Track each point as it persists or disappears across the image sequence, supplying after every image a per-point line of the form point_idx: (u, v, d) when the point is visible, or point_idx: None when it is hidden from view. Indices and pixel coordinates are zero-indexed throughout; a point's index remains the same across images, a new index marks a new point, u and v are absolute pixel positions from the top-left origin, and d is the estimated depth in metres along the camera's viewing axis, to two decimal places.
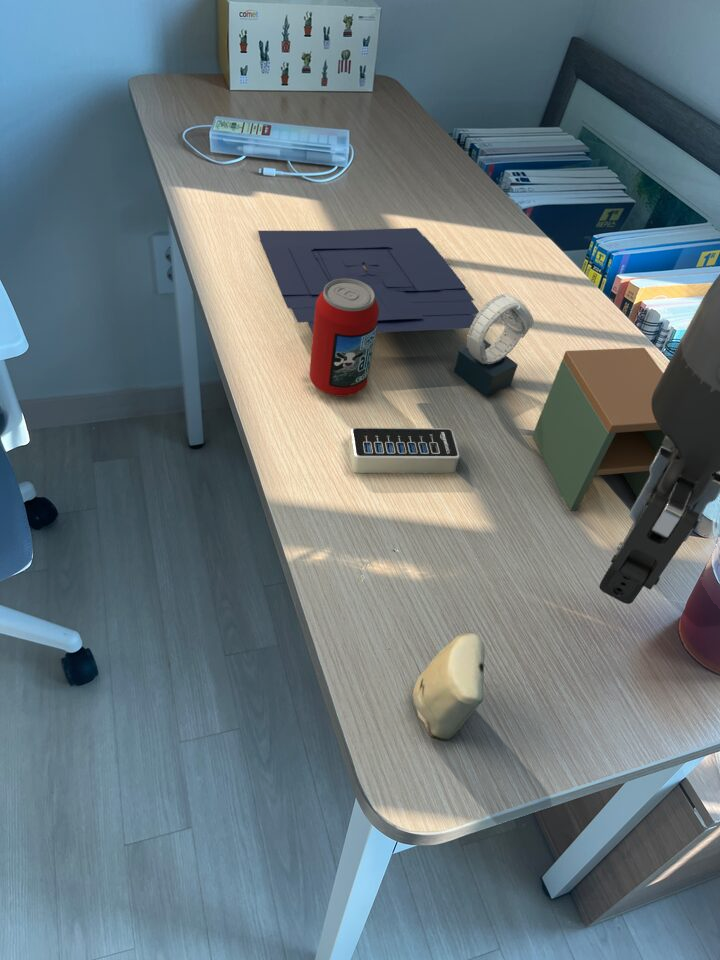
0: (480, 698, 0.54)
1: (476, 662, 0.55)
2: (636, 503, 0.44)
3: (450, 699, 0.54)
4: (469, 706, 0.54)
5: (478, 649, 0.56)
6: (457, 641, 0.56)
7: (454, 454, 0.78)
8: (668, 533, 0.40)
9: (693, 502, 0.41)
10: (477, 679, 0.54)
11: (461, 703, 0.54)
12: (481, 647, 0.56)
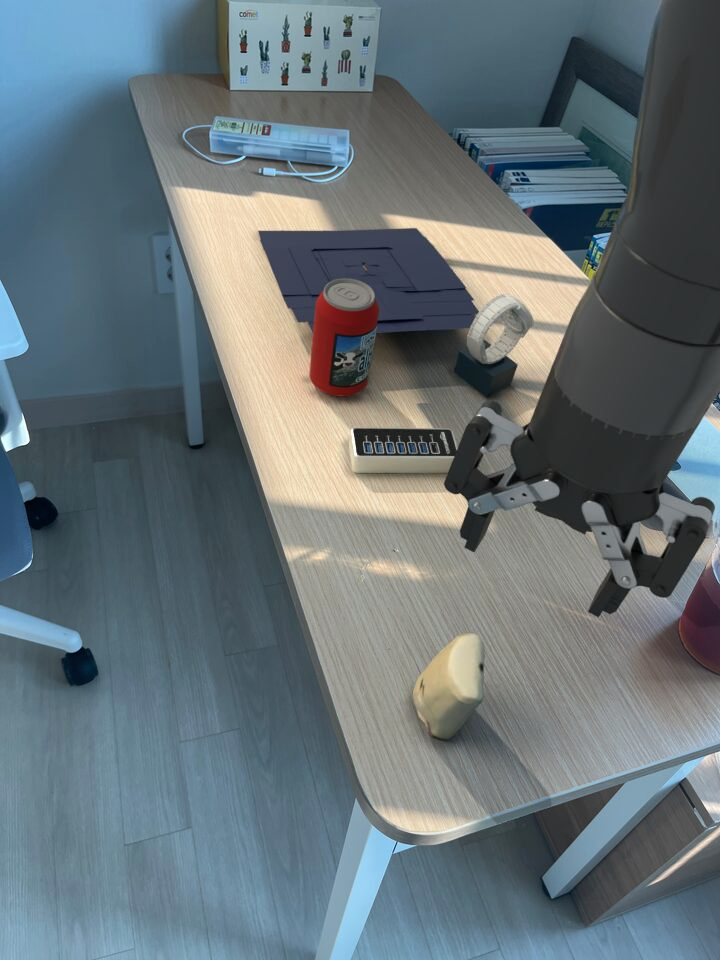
0: (480, 698, 0.54)
1: (476, 662, 0.55)
2: None
3: (450, 699, 0.54)
4: (469, 706, 0.54)
5: (478, 649, 0.56)
6: (457, 641, 0.56)
7: (454, 454, 0.78)
8: None
9: (511, 452, 0.42)
10: (477, 679, 0.54)
11: (461, 703, 0.54)
12: (481, 647, 0.56)
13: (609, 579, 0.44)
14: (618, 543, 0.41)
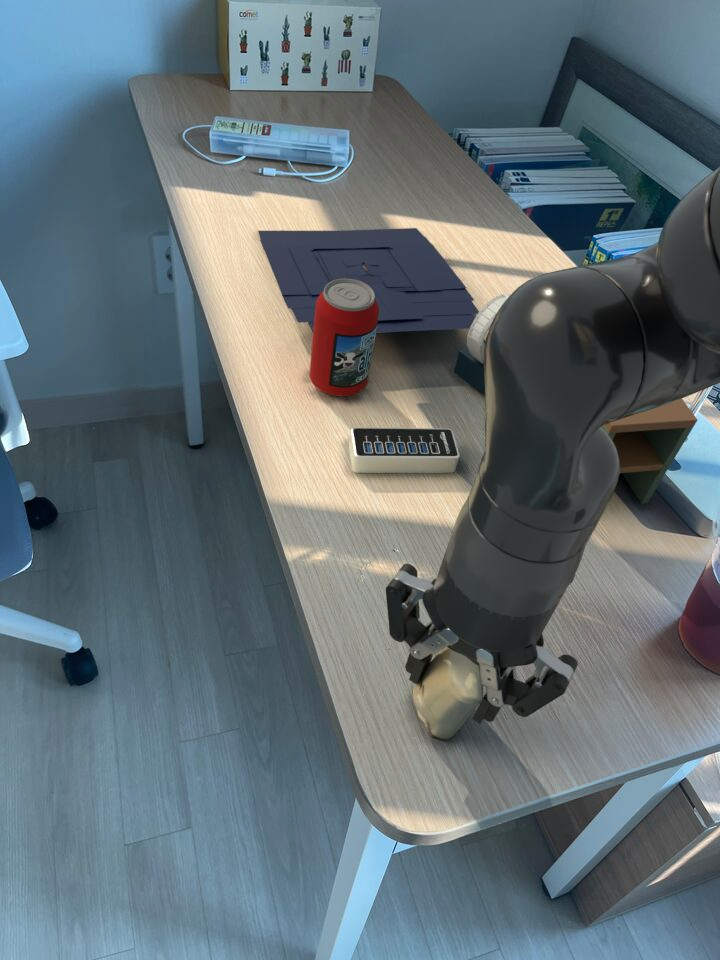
0: (480, 698, 0.54)
1: None
2: None
3: (450, 699, 0.54)
4: (469, 706, 0.54)
5: None
6: None
7: (454, 454, 0.78)
8: None
9: (423, 601, 0.51)
10: (477, 679, 0.54)
11: (461, 703, 0.54)
12: None
13: (484, 697, 0.54)
14: (497, 680, 0.51)
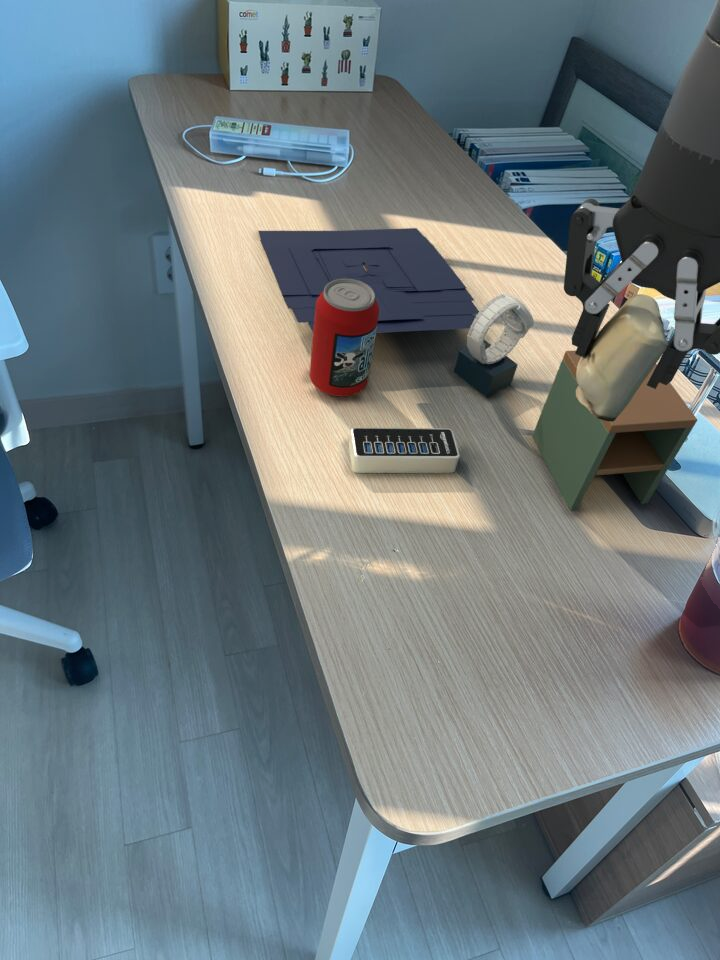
0: (666, 342, 0.51)
1: (655, 314, 0.52)
2: None
3: (632, 349, 0.51)
4: (653, 353, 0.51)
5: (655, 306, 0.53)
6: (631, 300, 0.53)
7: (454, 454, 0.78)
8: None
9: (613, 225, 0.49)
10: (660, 327, 0.52)
11: (645, 349, 0.51)
12: (657, 305, 0.53)
13: (668, 345, 0.51)
14: (695, 303, 0.48)
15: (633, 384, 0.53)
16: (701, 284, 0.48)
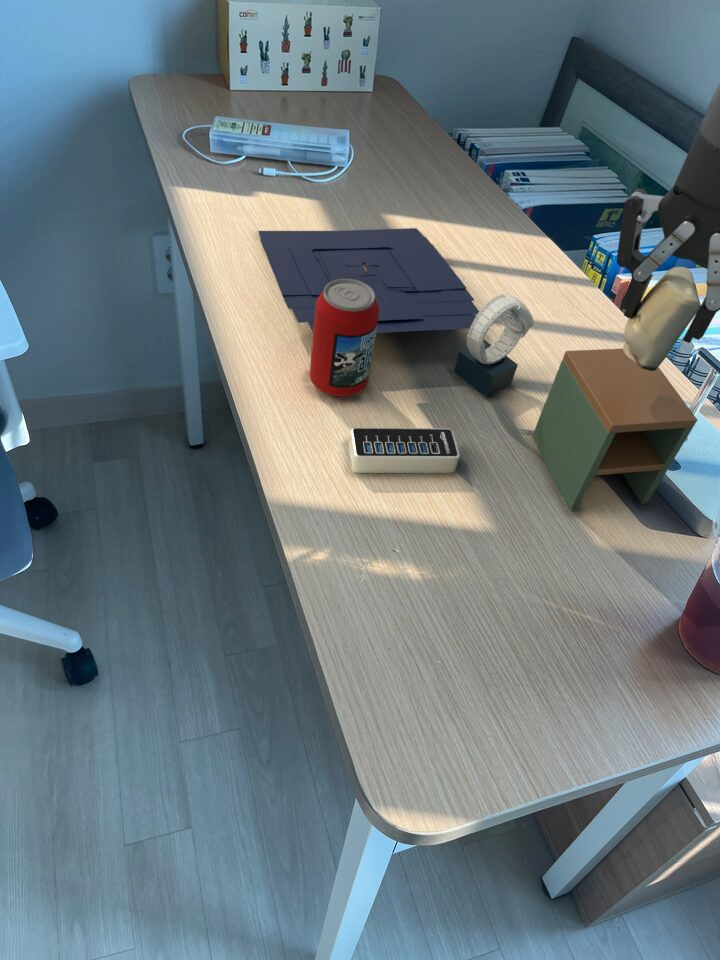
0: (699, 303, 0.64)
1: (690, 282, 0.65)
2: None
3: (671, 308, 0.64)
4: (689, 312, 0.64)
5: (690, 275, 0.66)
6: (671, 270, 0.66)
7: (454, 454, 0.78)
8: None
9: (659, 209, 0.62)
10: (694, 291, 0.64)
11: (683, 308, 0.64)
12: (692, 275, 0.66)
13: (700, 306, 0.64)
14: None
15: (672, 338, 0.66)
16: None
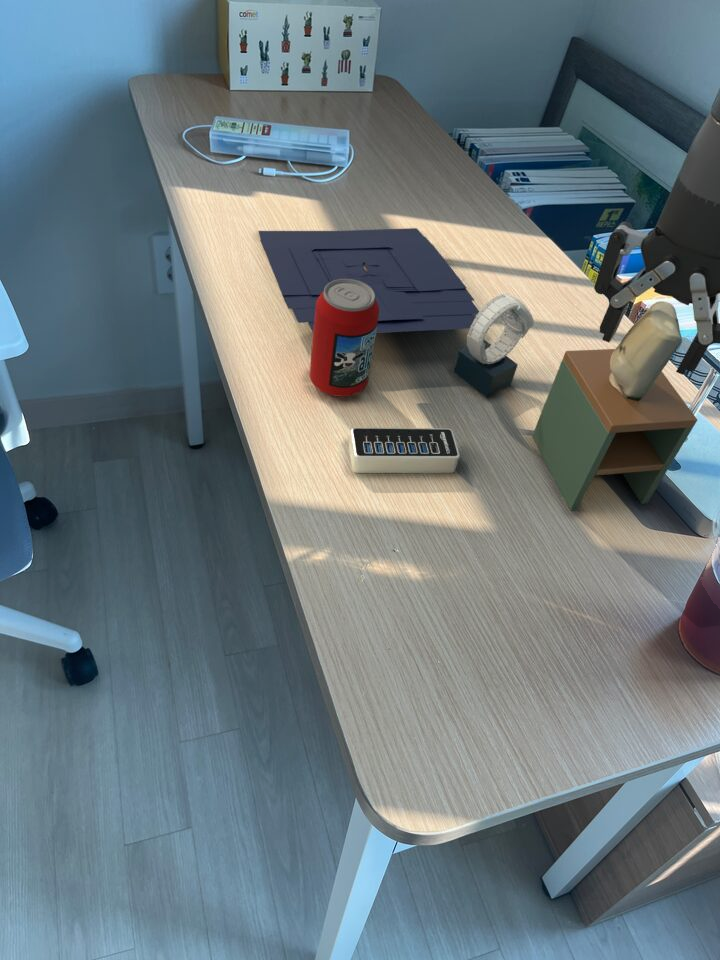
0: (681, 338, 0.66)
1: (673, 317, 0.68)
2: None
3: (654, 343, 0.67)
4: (671, 346, 0.67)
5: (673, 310, 0.69)
6: (655, 305, 0.69)
7: (454, 454, 0.78)
8: None
9: (641, 248, 0.64)
10: (676, 327, 0.67)
11: (665, 343, 0.66)
12: (674, 310, 0.69)
13: (693, 340, 0.66)
14: (708, 306, 0.63)
15: (655, 371, 0.69)
16: (707, 293, 0.63)
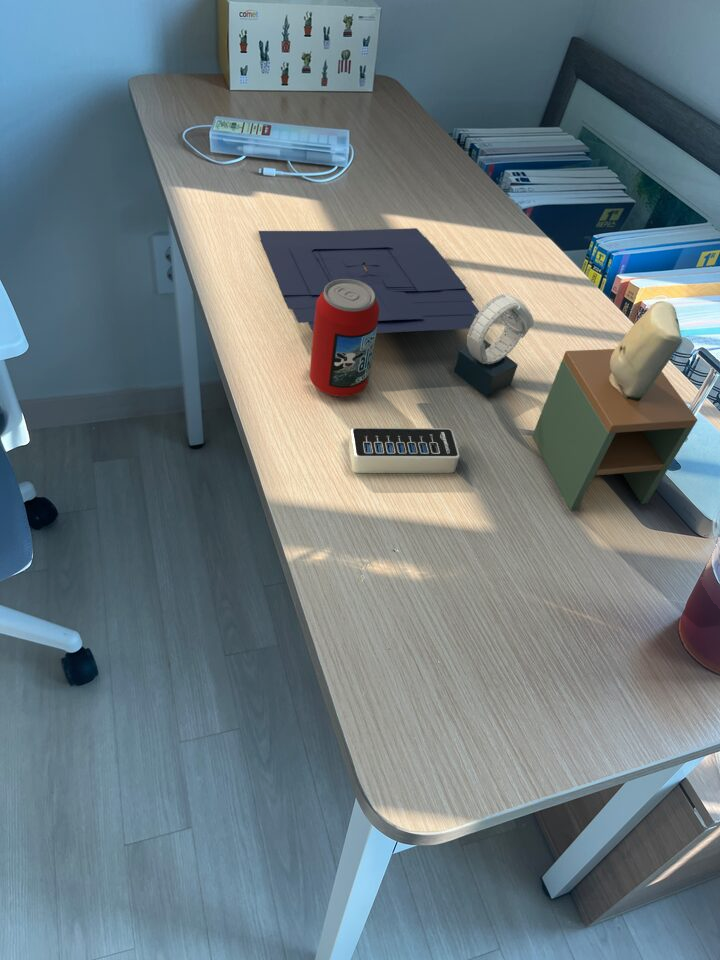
0: (681, 338, 0.66)
1: (673, 317, 0.68)
2: None
3: (654, 343, 0.67)
4: (671, 346, 0.67)
5: (673, 310, 0.69)
6: (655, 305, 0.69)
7: (454, 454, 0.78)
8: None
9: None
10: (676, 327, 0.67)
11: (665, 343, 0.66)
12: (674, 310, 0.69)
13: None
14: None
15: (655, 371, 0.69)
16: None
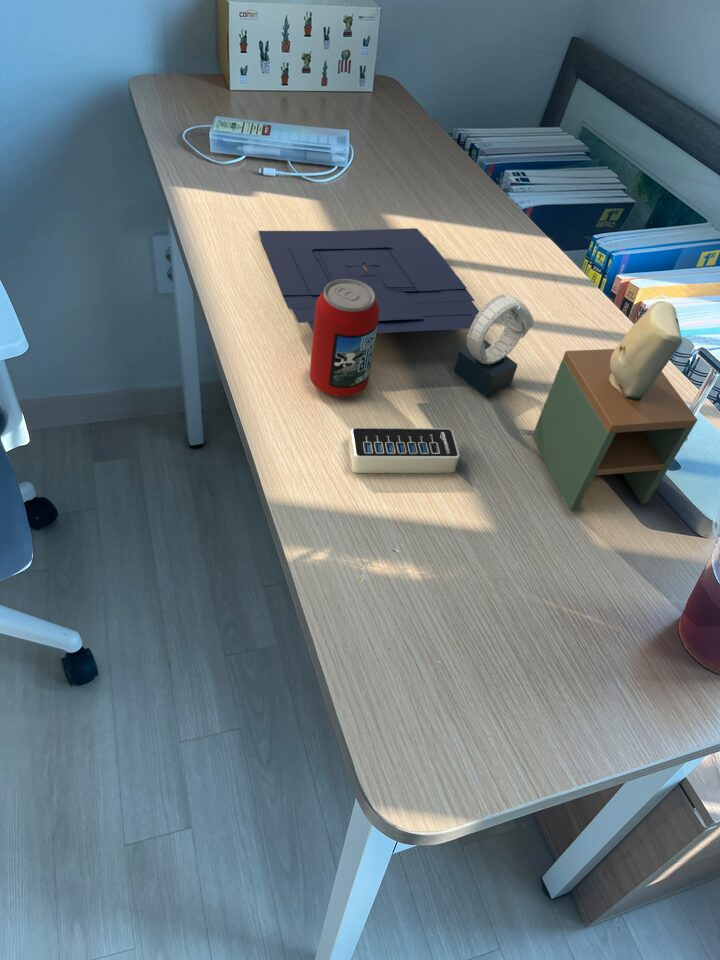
0: (681, 338, 0.66)
1: (673, 317, 0.68)
2: None
3: (654, 343, 0.67)
4: (671, 346, 0.67)
5: (673, 310, 0.69)
6: (655, 305, 0.69)
7: (454, 454, 0.78)
8: None
9: None
10: (676, 327, 0.67)
11: (665, 343, 0.66)
12: (674, 310, 0.69)
13: None
14: None
15: (655, 371, 0.69)
16: None
